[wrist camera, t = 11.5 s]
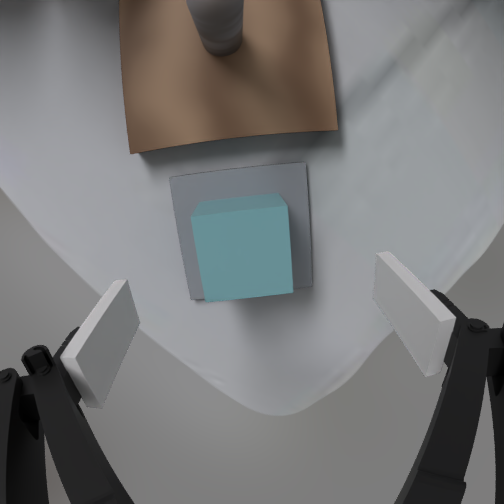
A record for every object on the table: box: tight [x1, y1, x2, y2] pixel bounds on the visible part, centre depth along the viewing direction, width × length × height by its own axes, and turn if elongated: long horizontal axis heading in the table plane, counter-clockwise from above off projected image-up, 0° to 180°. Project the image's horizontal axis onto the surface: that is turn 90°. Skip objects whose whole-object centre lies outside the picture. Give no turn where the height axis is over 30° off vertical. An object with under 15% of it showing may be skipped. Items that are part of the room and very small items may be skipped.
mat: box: [169, 162, 312, 300], centre depth 27 cm, size 11×11×1 cm
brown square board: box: [119, 0, 338, 154], centre depth 17 cm, size 16×16×10 cm
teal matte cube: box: [191, 193, 293, 302], centre depth 24 cm, size 6×7×5 cm
